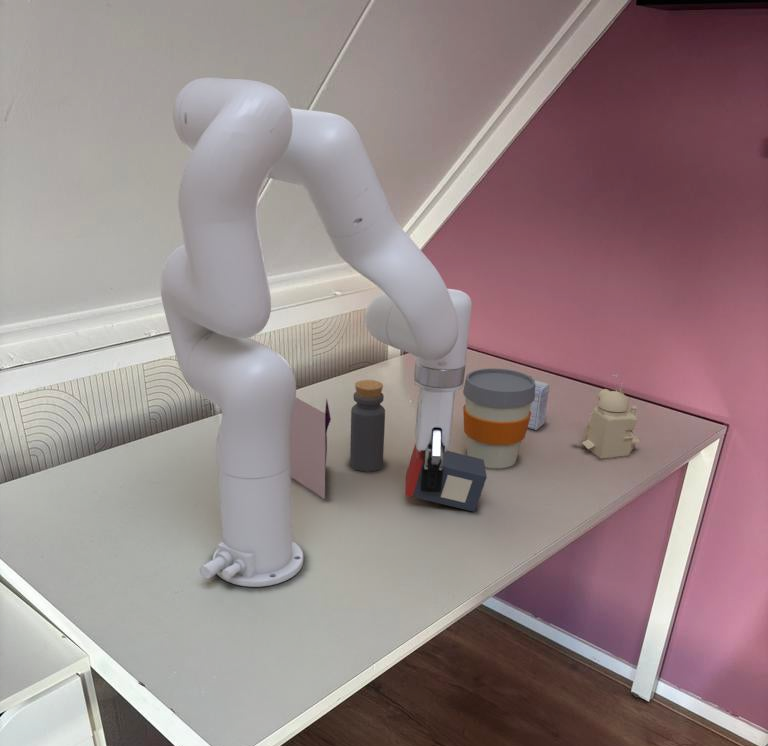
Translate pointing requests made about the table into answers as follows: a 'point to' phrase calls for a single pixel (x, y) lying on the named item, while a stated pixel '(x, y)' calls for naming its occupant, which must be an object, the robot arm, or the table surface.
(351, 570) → the table surface
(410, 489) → the red-lidded grey box
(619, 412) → the robot
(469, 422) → the reusable coffee cup
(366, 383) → the bottle
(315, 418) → the greeting card
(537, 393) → the medicine box
